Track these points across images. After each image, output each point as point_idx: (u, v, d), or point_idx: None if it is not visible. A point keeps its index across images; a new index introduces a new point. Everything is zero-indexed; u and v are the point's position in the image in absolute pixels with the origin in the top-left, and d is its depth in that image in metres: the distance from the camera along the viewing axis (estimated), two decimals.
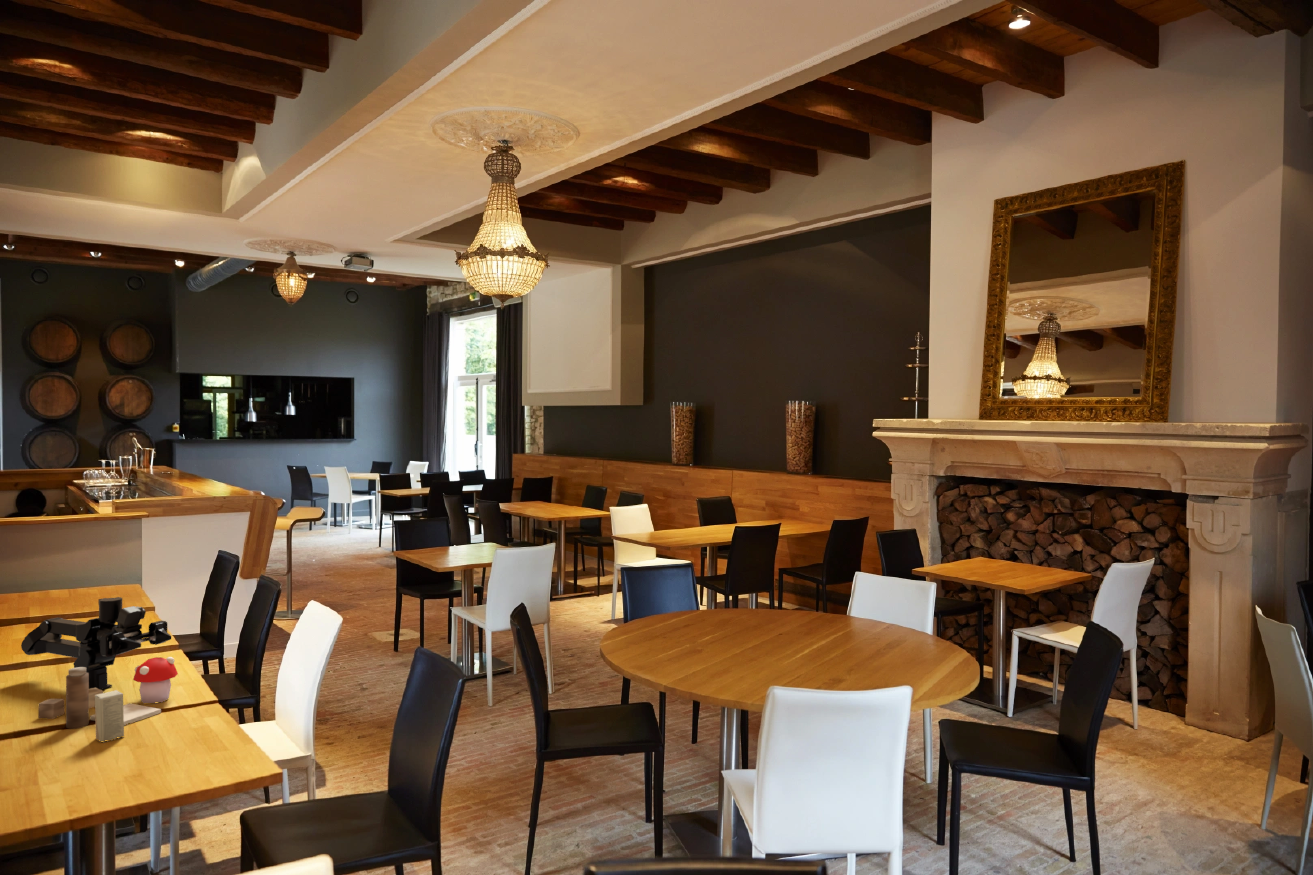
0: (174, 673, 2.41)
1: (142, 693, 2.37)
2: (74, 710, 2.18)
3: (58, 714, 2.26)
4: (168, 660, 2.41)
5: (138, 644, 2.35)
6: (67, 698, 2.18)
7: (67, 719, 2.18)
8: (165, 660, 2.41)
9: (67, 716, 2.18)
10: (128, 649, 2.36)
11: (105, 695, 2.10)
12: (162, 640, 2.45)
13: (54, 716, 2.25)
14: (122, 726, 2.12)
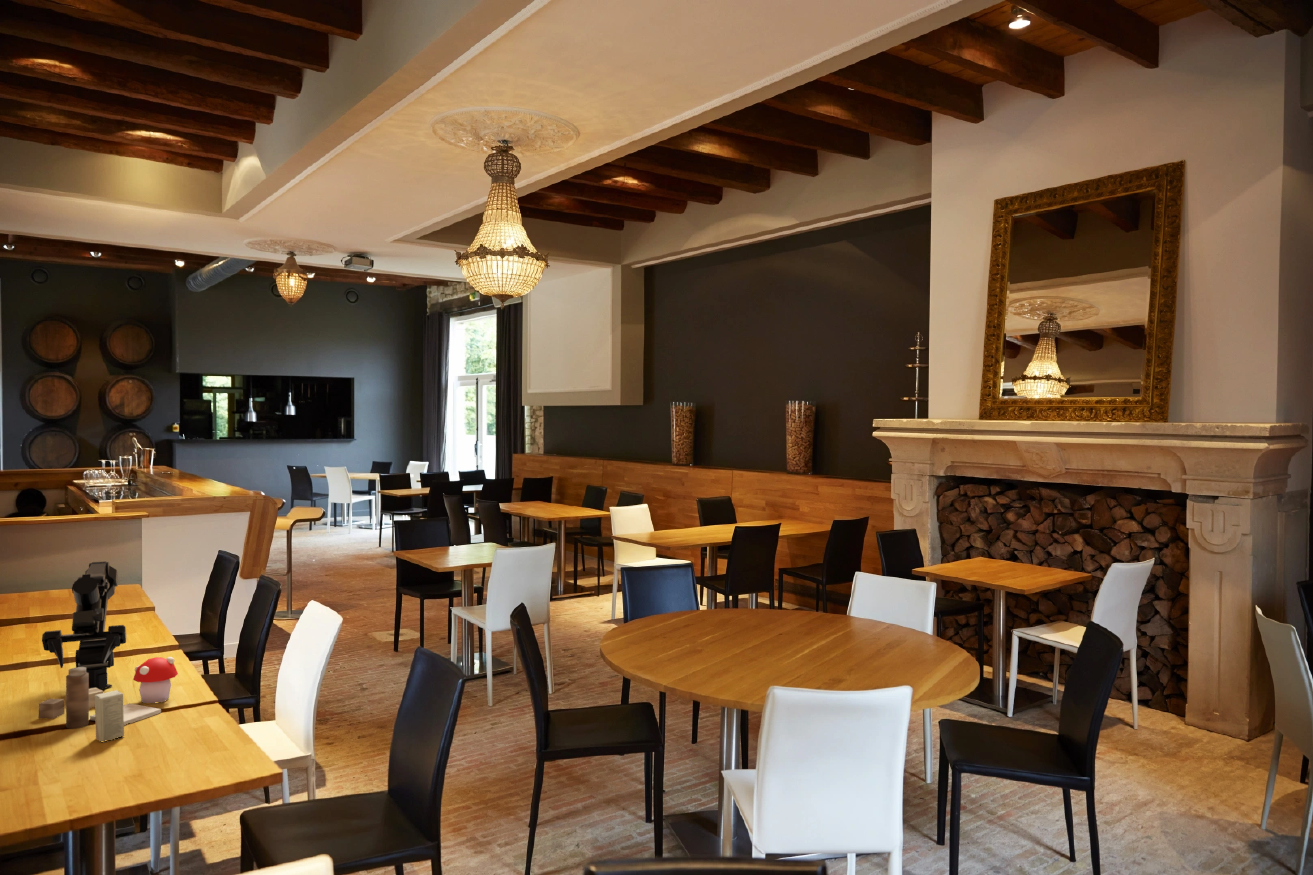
0: (174, 673, 2.41)
1: (142, 693, 2.37)
2: (74, 710, 2.18)
3: (58, 714, 2.26)
4: (168, 660, 2.41)
5: (60, 665, 2.25)
6: (67, 698, 2.18)
7: (67, 719, 2.18)
8: (165, 660, 2.41)
9: (67, 716, 2.18)
10: (58, 659, 2.27)
11: (105, 695, 2.10)
12: None
13: (54, 716, 2.25)
14: (122, 726, 2.12)
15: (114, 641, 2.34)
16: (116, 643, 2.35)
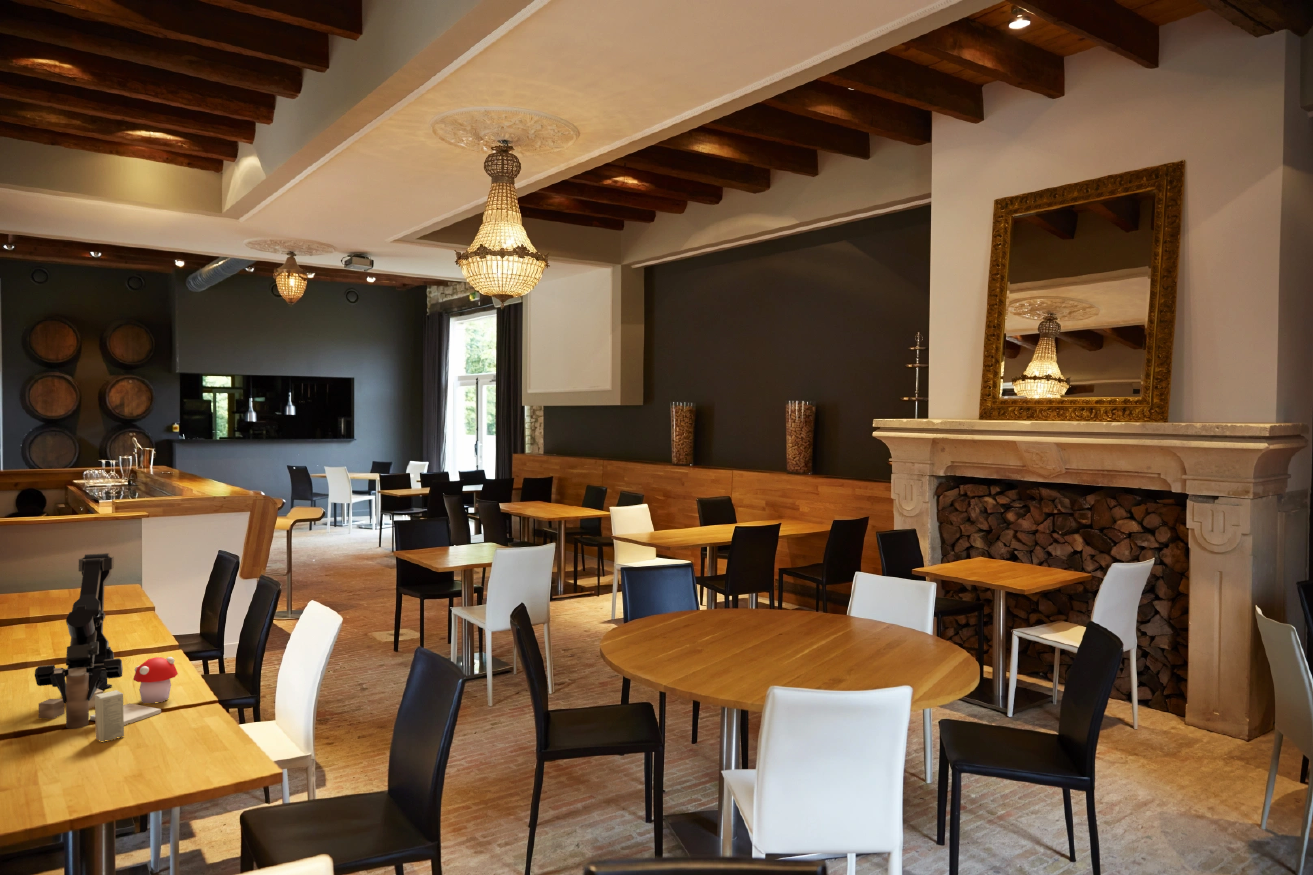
0: (174, 673, 2.41)
1: (142, 693, 2.37)
2: (74, 710, 2.18)
3: (58, 714, 2.26)
4: (168, 660, 2.41)
5: (63, 700, 2.17)
6: (67, 698, 2.18)
7: (67, 719, 2.18)
8: (165, 660, 2.41)
9: (67, 716, 2.18)
10: (61, 694, 2.20)
11: (105, 695, 2.10)
12: None
13: (54, 716, 2.25)
14: (122, 726, 2.12)
15: (101, 676, 2.25)
16: (103, 678, 2.26)
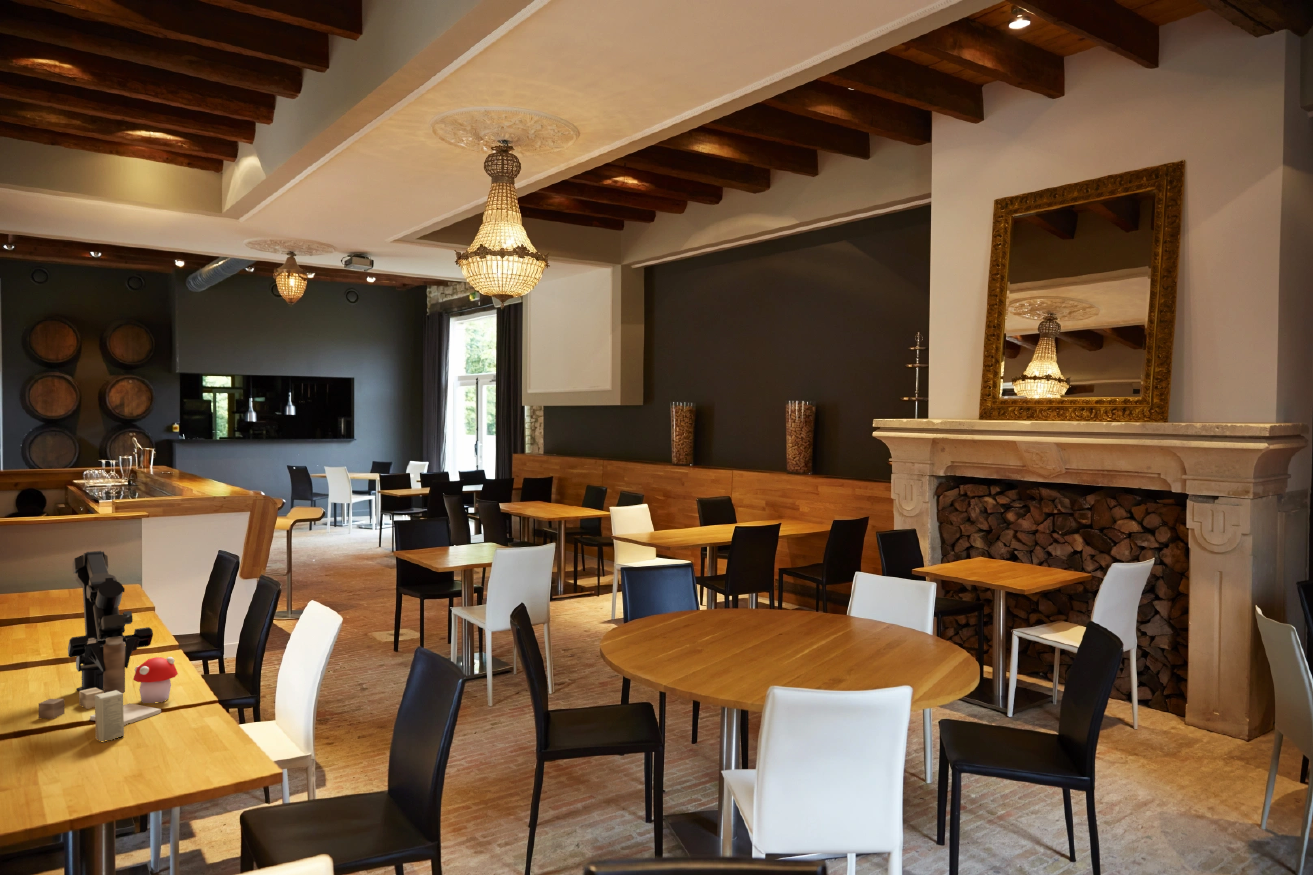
0: (174, 673, 2.41)
1: (142, 693, 2.37)
2: (114, 678, 2.23)
3: (58, 714, 2.26)
4: (168, 660, 2.41)
5: (102, 668, 2.22)
6: (106, 666, 2.22)
7: (105, 687, 2.23)
8: (165, 660, 2.41)
9: (106, 684, 2.23)
10: (96, 663, 2.24)
11: (105, 695, 2.10)
12: None
13: (54, 716, 2.25)
14: (122, 726, 2.12)
15: (132, 645, 2.30)
16: (134, 647, 2.31)
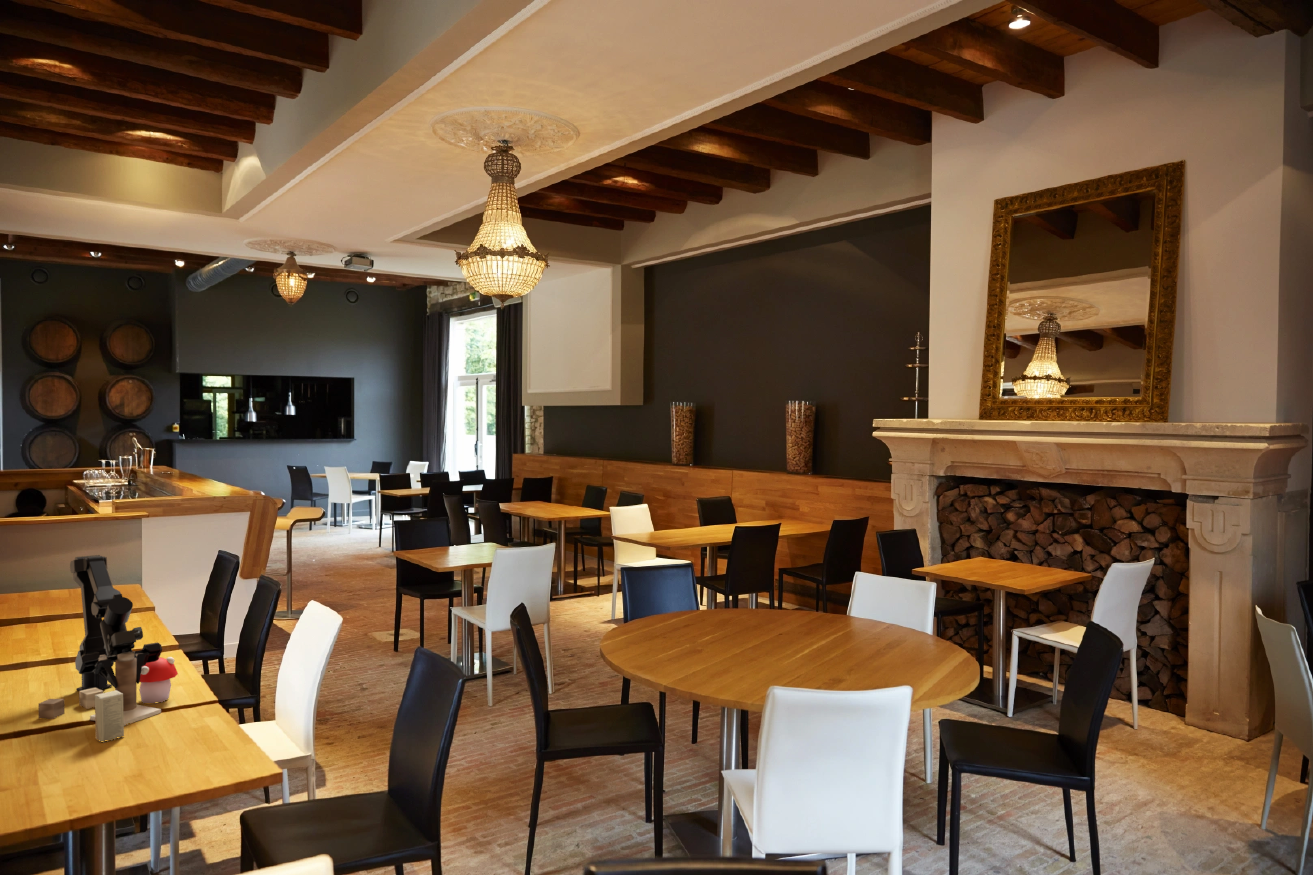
0: (174, 673, 2.41)
1: (142, 693, 2.37)
2: (127, 693, 2.25)
3: (58, 714, 2.26)
4: (168, 660, 2.41)
5: (114, 685, 2.24)
6: (118, 682, 2.24)
7: None
8: (165, 660, 2.41)
9: None
10: (107, 679, 2.25)
11: (105, 695, 2.10)
12: None
13: (54, 716, 2.25)
14: (122, 726, 2.12)
15: None
16: (143, 662, 2.33)
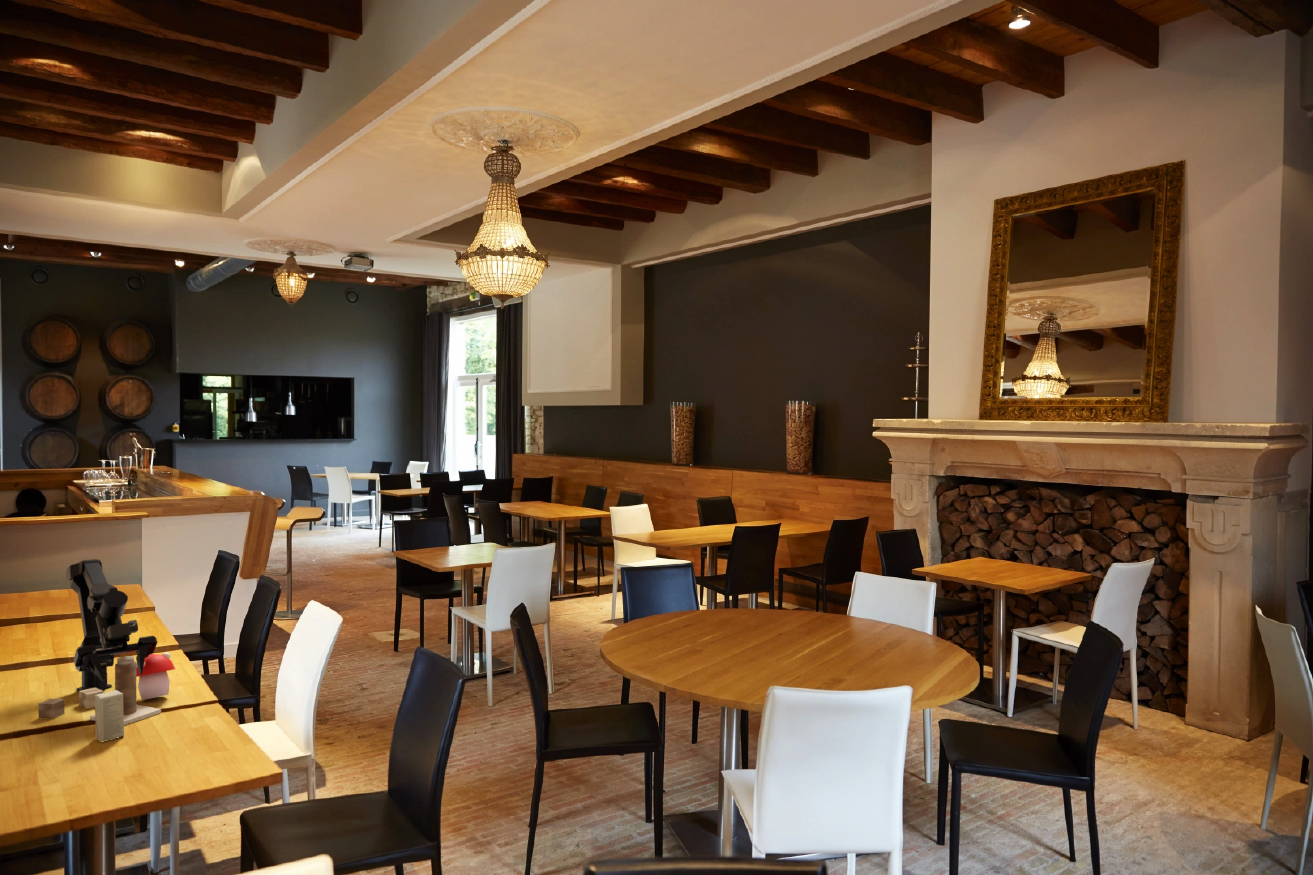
0: (171, 666, 2.42)
1: (141, 689, 2.37)
2: (127, 697, 2.25)
3: (58, 714, 2.26)
4: (164, 655, 2.43)
5: (102, 678, 2.25)
6: (118, 686, 2.24)
7: None
8: (161, 655, 2.42)
9: None
10: (95, 673, 2.27)
11: (105, 695, 2.10)
12: (138, 665, 2.34)
13: (54, 716, 2.25)
14: (122, 726, 2.12)
15: None
16: (146, 654, 2.37)
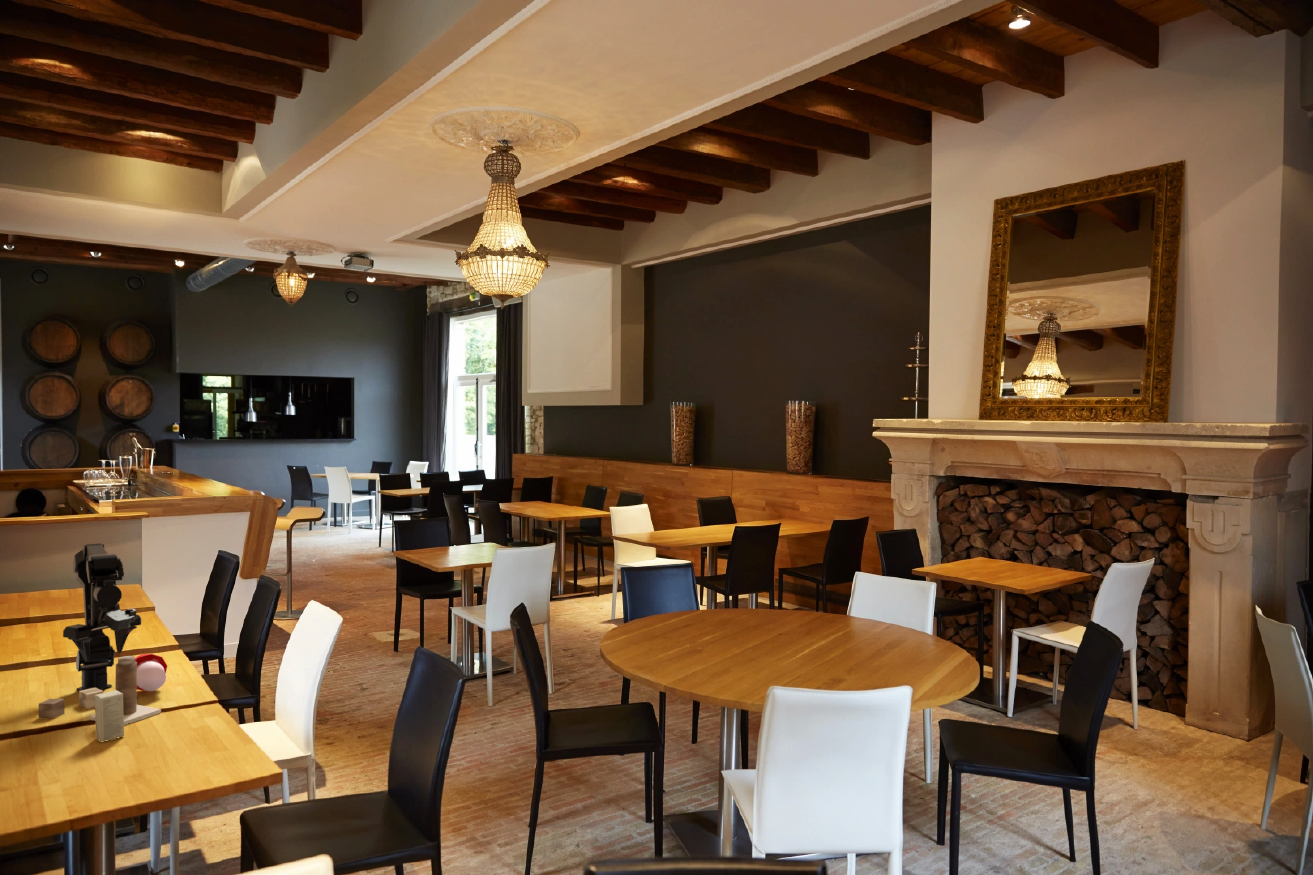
0: None
1: None
2: (127, 697, 2.25)
3: (58, 714, 2.26)
4: None
5: (86, 659, 2.32)
6: (119, 686, 2.25)
7: None
8: None
9: None
10: (79, 649, 2.32)
11: (105, 695, 2.10)
12: (116, 640, 2.41)
13: (54, 716, 2.25)
14: (122, 726, 2.12)
15: None
16: None
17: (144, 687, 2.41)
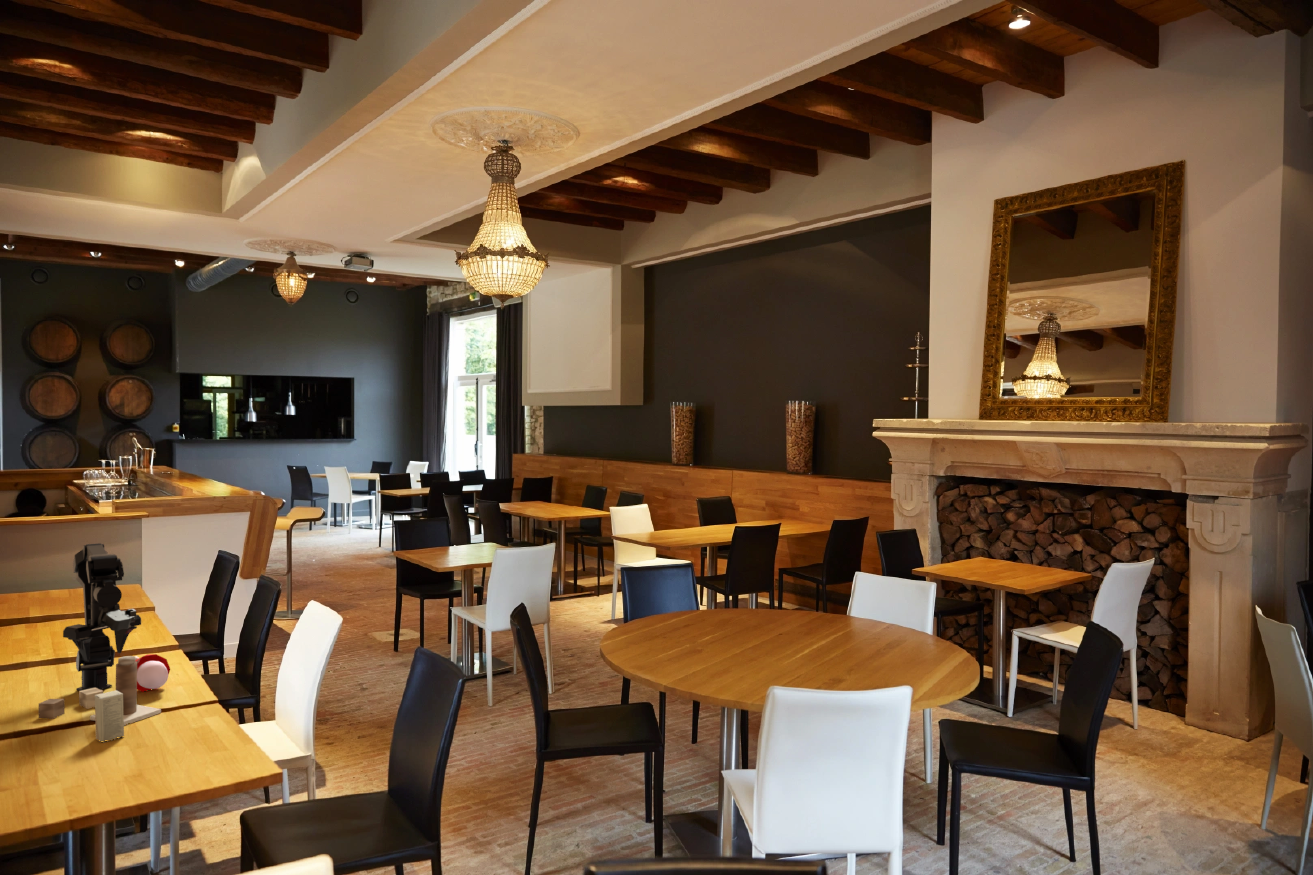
0: None
1: (140, 670, 2.43)
2: (127, 697, 2.25)
3: (58, 714, 2.26)
4: None
5: (86, 659, 2.32)
6: (119, 686, 2.24)
7: None
8: None
9: None
10: (79, 649, 2.32)
11: (105, 695, 2.10)
12: (116, 640, 2.41)
13: (54, 716, 2.25)
14: (122, 726, 2.12)
15: None
16: None
17: (145, 684, 2.42)
